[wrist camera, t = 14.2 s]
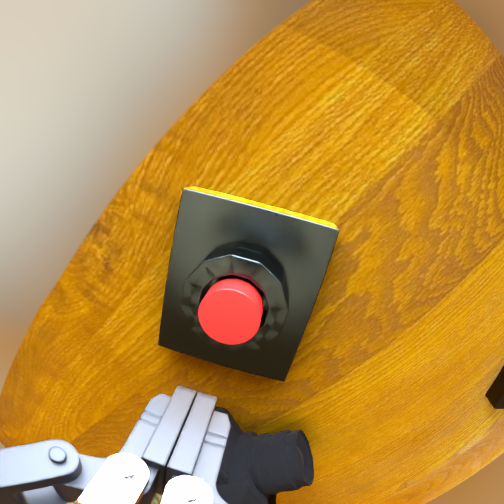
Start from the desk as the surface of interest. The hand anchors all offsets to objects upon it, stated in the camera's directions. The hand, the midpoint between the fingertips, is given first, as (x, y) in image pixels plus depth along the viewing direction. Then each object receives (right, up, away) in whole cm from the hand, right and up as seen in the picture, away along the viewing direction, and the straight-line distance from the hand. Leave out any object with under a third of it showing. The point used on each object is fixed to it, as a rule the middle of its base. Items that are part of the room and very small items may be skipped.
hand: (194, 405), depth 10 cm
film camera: (+3, -14, +17) cm, 22 cm away
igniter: (+1, +3, +12) cm, 13 cm away
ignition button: (+1, +2, +9) cm, 9 cm away
